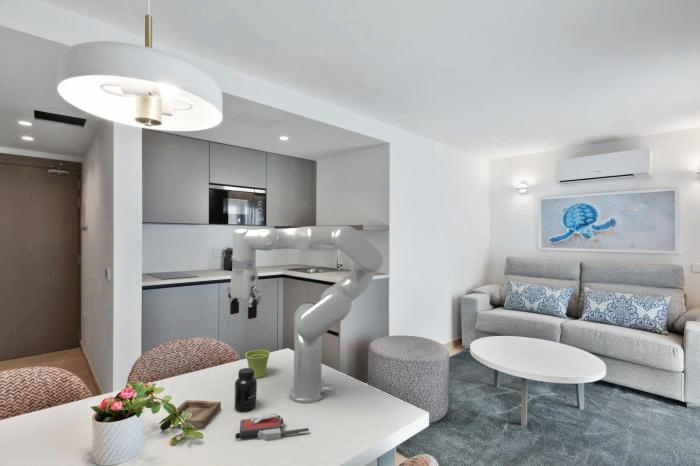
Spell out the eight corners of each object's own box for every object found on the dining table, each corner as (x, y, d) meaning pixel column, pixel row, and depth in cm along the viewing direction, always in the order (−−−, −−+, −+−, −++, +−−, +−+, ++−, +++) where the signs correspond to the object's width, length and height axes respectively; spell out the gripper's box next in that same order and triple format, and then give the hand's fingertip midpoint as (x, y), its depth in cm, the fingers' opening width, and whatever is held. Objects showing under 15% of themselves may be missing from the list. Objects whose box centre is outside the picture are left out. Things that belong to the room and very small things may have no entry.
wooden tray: (220, 409, 112) (220, 401, 112) (202, 429, 101) (202, 420, 101) (186, 407, 113) (186, 399, 113) (164, 427, 102) (164, 418, 102)
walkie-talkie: (234, 446, 94) (309, 436, 99) (234, 430, 94) (309, 421, 99) (236, 428, 102) (305, 420, 107) (236, 413, 102) (305, 406, 107)
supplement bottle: (252, 413, 110) (253, 375, 110) (231, 412, 111) (231, 374, 111) (259, 402, 117) (259, 366, 117) (238, 402, 117) (239, 366, 117)
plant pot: (266, 380, 135) (266, 358, 135) (241, 380, 135) (242, 357, 135) (272, 371, 144) (272, 349, 144) (249, 370, 144) (249, 349, 144)
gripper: (269, 266, 117) (268, 318, 117) (238, 262, 127) (237, 310, 127) (250, 268, 111) (249, 322, 111) (219, 264, 121) (218, 313, 121)
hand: (243, 315), depth 119 cm, fingers open, 9 cm apart
